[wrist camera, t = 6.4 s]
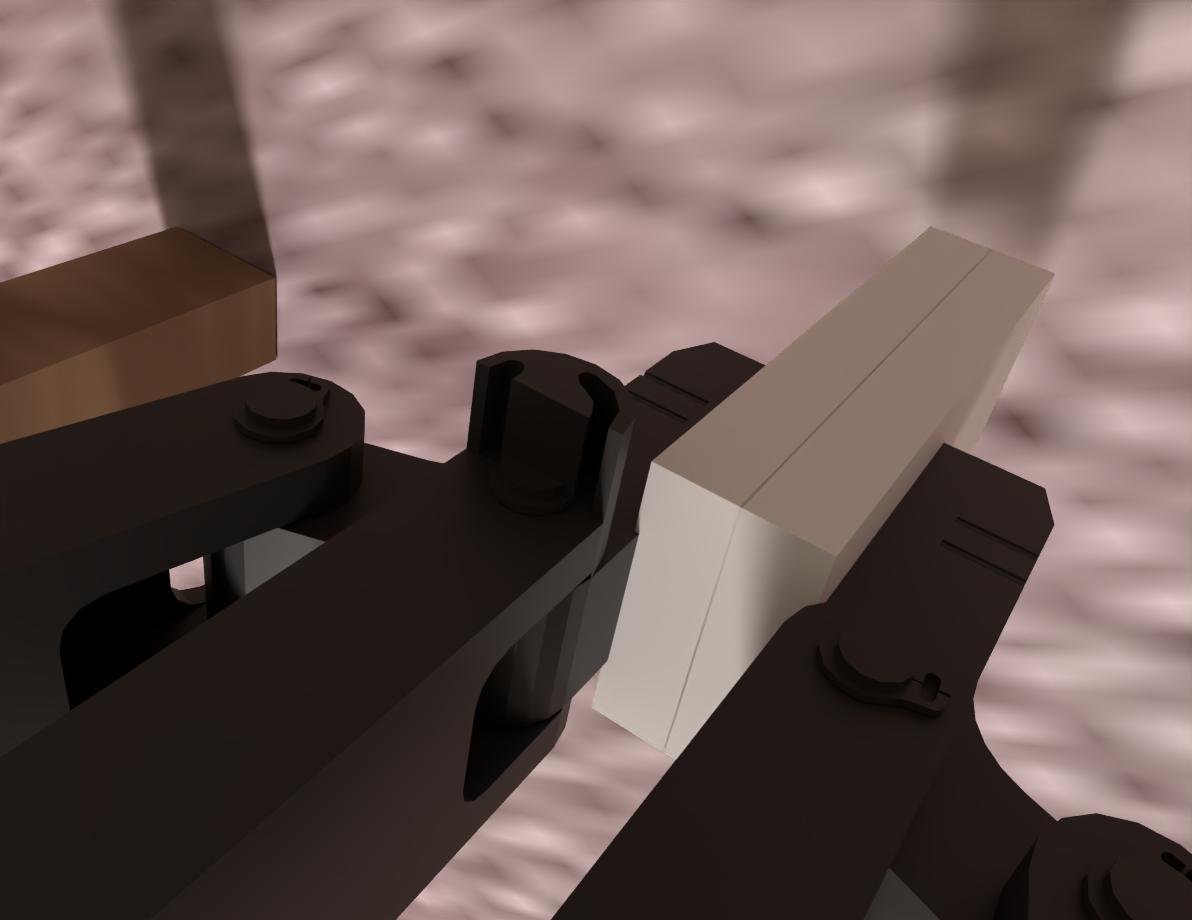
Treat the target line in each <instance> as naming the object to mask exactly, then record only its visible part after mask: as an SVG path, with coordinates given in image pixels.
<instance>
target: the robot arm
mask: <svg viewBox="0 0 1192 920" xmlns="http://www.w3.org/2000/svg"><path fill="white" fill-rule="evenodd" d="M1054 275H1055V273H1052V272H1049V271H1047V270H1044V269H1042V268H1039V267H1036V266H1034V265H1031V264H1028V263H1026V262H1023V261H1020V260H1018V259H1015V258H1012V257H1010V256H1007V255H1005V254H1002V253H999V252H997V251H994V250H991V249H989V248H986V247H983V246H981V245H978V244H975V243H973V242H970V241H968V240H965V239H962V238H960V237H957V236H954V235H952V234H949V233H946V232H944V231H941V230H939V229H936V228H933V227H930V228H929V229H927V230H926V231H925V232H924V233H923V234H922V235H920V236H919V237H918V238H917V239H916V240H914V241H913V242H912V243H911V244H910V245H908V246H907V247H906V248H905V249H904V250H902V251H901V252H900V253H899V254H898V255H897V256H895V257H894V258H893V259H892V260H891V261H889V262H888V263H887V264H886V265H885V266H883V267H882V268H881V269H880V270H879V271H877V272H876V273H875V274H874V275H873V276H872V277H870V278H869V279H868V280H867V281H866V282H864V283H863V284H862V285H861V286H860V287H858V288H857V289H856V290H855V291H854V292H853V293H851V294H850V295H849V296H848V297H847V298H845V299H844V300H843V301H842V302H841V303H839V304H838V305H837V306H836V307H835V308H833V309H832V310H831V311H830V312H829V313H828V314H826V315H825V316H824V317H823V318H822V319H820V320H819V321H818V322H817V323H816V324H814V325H813V326H812V327H811V328H810V329H808V330H807V331H806V332H805V333H804V334H803V335H801V336H800V337H799V338H798V339H797V340H795V341H794V342H793V343H792V344H791V345H789V346H788V347H787V348H786V349H785V350H784V351H782V352H781V353H780V354H779V355H778V356H776V357H775V358H774V359H773V360H772V361H770V362H769V363H768V364H767V365H763V364H761V363H759V362H757V361H755V360H752V359H750V358H748V357H746V356H744V355H741V354H739V353H737V352H735V351H733V350H730V349H728V348H726V347H724V346H722V345H719V344H717V343H715V342H713V343H708V344H704V345H699V346H695V347H691V348H686V349H682V350H677V351H673V352H672V353H670V354H669V355H667V356H666V357H665V358H663V359H662V360H660V361H659V362H658V363H656V364H655V365H653V366H652V367H651V368H649V369H648V370H646V372H645V374H644V376H642V375H639V376H638V377H637V378H635V379H634V380H632V381H631V382H630V383H628V384H627V385H625V386H624V385H623V384H622V382H621V381H620V380H619V379H617V378H616V377H614V376H613V375H611V374H610V373H608V372H607V371H605V370H604V369H602V368H600V367H599V366H597V365H596V364H593V363H590V362H587V361H584V360H582V359H579V358H576V357H573V356H570V355H567V354H562V353H555V352H548V351H541V350H520V351H506V352H500V353H497V354H495V355H492V356H489V357H486V358H483V359H481V360H478V361H477V364H476V373H475V381H474V390H473V398H472V407H471V415H470V424H469V432H468V441H467V449H465V450H464V451H462V452H461V453H459V454H457V455H456V456H454V457H453V458H451V459H450V460H448V461H447V462H445V463H439V462H434V461H429V460H424V459H421V458H417V457H414V456H410V455H407V454H403V453H399V452H396V451H392V450H389V449H385V448H381V447H378V446H374V445H371V444H367V443H364V431H365V411H364V409H363V408H362V406H361V405H360V404H359V402H358V401H357V399H356V398H355V397H354V395H353V394H352V393H350V392H348V391H347V390H345V389H343V388H342V387H340V386H338V385H337V384H335V383H333V382H332V381H328V380H325V379H321V378H317V377H314V376H310V375H306V374H303V373H283V372H267V373H261V374H254V375H248V376H242V377H238V378H234V379H230V380H227V381H223V382H220V383H216V384H213V385H209V386H205V387H202V388H198V389H195V390H191V391H187V392H184V393H180V394H177V395H173V396H170V397H166V398H162V399H159V400H155V401H152V402H148V403H145V404H141V405H137V406H134V407H130V408H127V409H123V410H120V411H116V412H112V413H109V414H105V415H102V416H98V417H95V418H91V419H87V420H84V421H80V422H77V423H73V424H69V425H66V426H62V427H59V428H55V429H52V430H48V431H44V432H41V433H37V434H34V435H30V436H27V437H23V438H19V439H16V440H12V441H9V442H5V443H2V444H0V920H396V919H397V918H398V917H399V916H400V914H401V913H402V912H403V911H404V910H405V909H406V908H407V907H408V906H409V905H410V904H411V902H412V901H413V900H414V899H415V898H416V897H417V896H418V895H419V894H420V893H421V892H422V890H423V889H424V888H425V887H426V886H427V885H428V884H429V883H430V882H431V881H432V880H433V878H434V877H435V876H436V875H437V874H438V873H439V872H440V871H441V870H442V869H443V868H444V866H445V865H446V864H447V863H448V862H449V861H450V860H451V859H452V858H453V857H454V856H455V854H456V853H457V852H458V851H459V850H460V849H461V848H462V847H463V846H464V845H465V844H466V842H467V841H468V840H469V839H470V838H471V837H472V836H473V835H474V834H475V833H476V832H477V830H478V829H479V828H480V827H481V826H482V825H483V824H484V823H485V822H486V821H487V820H488V818H489V817H490V816H491V815H492V814H493V813H494V812H495V811H496V810H497V809H498V808H499V806H500V805H501V804H502V803H503V802H504V801H505V800H506V799H507V798H508V797H509V796H510V794H511V793H512V792H513V791H514V790H515V789H516V788H517V787H518V786H519V785H520V784H521V782H522V781H523V780H524V779H525V778H526V777H527V776H528V775H529V774H530V773H531V772H532V770H533V769H534V768H535V767H536V766H537V765H538V764H539V763H540V762H541V761H542V760H543V758H544V757H545V756H546V755H547V754H548V753H549V752H550V751H551V750H552V749H553V748H554V746H555V744H556V743H557V741H558V739H559V737H560V735H561V734H562V732H563V730H564V728H565V726H566V721H567V717H568V712H569V708H570V703H571V699H572V697H573V696H574V695H575V694H576V693H577V692H578V691H579V690H580V689H581V688H582V687H583V686H584V685H585V684H586V683H587V682H588V681H589V680H590V679H591V677H592V676H593V675H594V674H595V673H596V672H597V671H598V670H599V669H600V668H601V670H600V675H599V679H598V683H597V687H596V691H595V695H594V699H593V703H592V707H591V708H593V709H595V710H596V711H598V712H599V713H601V714H603V715H604V716H606V717H607V718H609V719H611V720H612V721H614V722H615V723H617V724H619V725H620V726H622V727H623V728H625V729H627V730H628V731H630V732H631V733H633V734H634V735H636V736H638V737H639V738H641V739H642V740H644V741H646V742H647V743H649V744H650V745H652V746H654V747H655V748H657V749H658V750H660V751H662V752H663V753H665V754H666V755H668V756H670V757H671V758H673V759H674V760H675V762H674V763H673V764H672V766H671V767H670V768H669V769H668V771H667V772H666V773H665V775H664V776H663V777H662V778H661V780H660V781H659V782H658V783H657V785H656V786H655V787H654V789H653V790H652V791H651V792H650V794H649V795H648V796H647V798H646V799H645V800H644V801H643V803H642V804H641V805H640V806H639V808H638V809H637V810H636V812H635V813H634V814H633V815H632V817H631V818H630V819H629V821H628V822H627V823H626V824H625V826H624V827H623V828H622V829H621V831H620V832H619V833H618V835H617V836H616V837H615V838H614V840H613V841H612V842H611V844H610V845H609V846H608V847H607V849H606V850H605V851H604V852H603V854H602V855H601V856H600V858H599V859H598V860H597V861H596V863H595V864H594V865H593V867H592V868H591V869H590V870H589V872H588V873H587V874H586V875H585V877H584V878H583V879H582V881H581V882H580V883H579V884H578V886H577V887H576V888H575V890H574V891H573V892H572V893H571V895H570V896H569V897H568V898H567V900H566V901H565V902H564V904H563V905H562V906H561V907H560V909H559V910H558V911H557V913H556V914H555V915H554V916H553V918H552V919H551V920H1192V854H1191V853H1190V852H1188V851H1187V850H1186V849H1185V848H1184V847H1182V846H1181V845H1180V844H1178V843H1176V842H1174V841H1172V840H1170V839H1168V838H1166V837H1164V836H1162V835H1160V834H1158V833H1157V832H1155V831H1153V830H1151V829H1149V828H1147V827H1145V826H1143V825H1141V824H1139V823H1137V822H1132V821H1128V820H1124V819H1119V818H1115V817H1110V816H1106V815H1102V814H1097V813H1095V814H1088V815H1080V816H1073V817H1066V818H1061V819H1060V820H1059V821H1056V820H1055V819H1054V818H1053V817H1052V816H1051V815H1050V814H1048V813H1047V812H1046V811H1045V810H1044V809H1043V808H1042V807H1041V806H1039V805H1038V804H1037V803H1036V802H1035V801H1034V800H1033V799H1032V798H1030V797H1029V796H1028V795H1027V794H1026V793H1025V792H1024V791H1023V790H1022V789H1021V788H1020V787H1019V786H1018V785H1017V784H1016V783H1015V782H1014V781H1013V780H1012V779H1011V778H1010V777H1009V776H1008V775H1007V774H1006V772H1005V771H1004V770H1003V769H1002V768H1001V767H1000V765H999V764H998V762H997V761H996V759H995V758H994V756H993V755H992V753H991V752H990V751H989V749H988V748H987V746H986V745H985V743H984V740H983V738H982V735H981V733H980V730H979V728H978V725H977V723H976V720H975V711H974V701H973V698H974V694H975V690H976V686H977V682H978V679H979V677H980V675H981V673H982V671H983V669H984V667H985V665H986V663H987V661H988V659H989V657H990V655H991V653H992V651H993V649H994V647H995V645H996V643H997V641H998V639H999V637H1000V635H1001V632H1002V630H1003V628H1004V626H1005V624H1006V622H1007V620H1008V618H1009V616H1010V614H1011V612H1012V610H1013V608H1014V606H1015V604H1016V602H1017V600H1018V598H1019V596H1020V594H1021V592H1022V590H1023V588H1024V585H1025V583H1026V581H1027V579H1028V577H1029V575H1030V573H1031V571H1032V569H1033V567H1034V565H1035V563H1036V561H1037V559H1038V557H1039V555H1040V553H1041V551H1042V549H1043V547H1044V545H1045V543H1046V541H1047V539H1048V537H1049V535H1050V533H1051V531H1052V529H1053V526H1054V522H1053V518H1052V514H1051V510H1050V506H1049V502H1048V498H1047V494H1046V490H1045V488H1043V487H1041V486H1039V485H1036V484H1034V483H1032V482H1030V481H1028V480H1025V479H1023V478H1021V477H1019V476H1017V475H1014V474H1012V473H1010V472H1008V471H1006V470H1003V469H1001V468H999V467H997V466H995V465H992V464H990V463H988V462H986V461H983V460H981V459H979V458H977V457H975V456H972V453H973V451H974V449H975V447H976V445H977V442H978V440H979V438H980V436H981V434H982V432H983V429H984V427H985V425H986V423H987V421H988V419H989V416H990V414H991V412H992V410H993V408H994V406H995V403H996V401H997V399H998V397H999V395H1000V393H1001V390H1002V388H1003V386H1004V384H1005V382H1006V380H1007V377H1008V375H1009V373H1010V371H1011V369H1012V366H1013V364H1014V362H1015V360H1016V358H1017V356H1018V353H1019V351H1020V349H1021V347H1022V345H1023V343H1024V340H1025V338H1026V336H1027V334H1028V332H1029V330H1030V327H1031V325H1032V323H1033V321H1034V319H1035V317H1036V314H1037V312H1038V310H1039V308H1040V306H1041V304H1042V301H1043V299H1044V297H1045V295H1046V293H1047V291H1048V288H1049V286H1050V284H1051V282H1052V280H1053V278H1054ZM200 557H203V563H204V579H205V585H202V586H200V587H196V588H190V589H185V590H178V589H175V588H172V587H171V585H170V574H169V569H172V568H174V567H177V566H180V565H182V564H185V563H187V562H190V561H193V560H195V559H198V558H200Z"/></svg>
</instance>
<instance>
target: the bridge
mask: <svg viewBox="0 0 1192 920" xmlns="http://www.w3.org/2000/svg"><path fill="white" fill-rule="evenodd" d="M274 360H276V299H275V277H273V276H271V275H269V274H267V273H265V272H263V271H261V270H259V269H257V268H255V267H254V266H252V265H250V264H248V263H246V262H244V261H242V260H240V259H238V258H236V257H234V256H232V255H230V254H228V253H227V252H225V251H223V250H221V249H219V248H217V247H215V246H213V245H211V244H209V243H207V242H205V241H203V240H202V239H200V238H198V237H196V236H194V235H192V234H190V233H188V232H186V231H184V230H182V229H180V228H178V227H174V228H171V229H168V230H165V231H162V232H158V233H155V234H152V235H149V236H146V237H143V238H140V239H136V240H133V241H130V242H127V243H124V244H121V245H118V246H114V247H111V248H108V249H105V250H102V251H99V252H96V253H92V254H89V255H86V256H83V257H80V258H77V259H74V260H70V261H67V262H64V263H61V264H58V265H55V266H51V267H48V268H45V269H42V270H39V271H36V272H33V273H29V274H26V275H23V276H20V277H17V278H14V279H11V280H7V281H4V282H1V283H0V444H2V443H5V442H9V441H12V440H16V439H19V438H23V437H27V436H30V435H34V434H37V433H41V432H44V431H48V430H52V429H55V428H59V427H62V426H66V425H69V424H73V423H77V422H80V421H84V420H87V419H91V418H95V417H98V416H102V415H105V414H109V413H112V412H116V411H120V410H123V409H127V408H130V407H134V406H137V405H141V404H145V403H148V402H152V401H155V400H159V399H162V398H166V397H170V396H173V395H177V394H180V393H184V392H187V391H191V390H195V389H198V388H202V387H205V386H209V385H213V384H216V383H220V382H223V381H227V380H230V379H234V378H237V377H239V376H242V375H244V374H246V373H248V372H250V371H252V370H255V369H257V368H259V367H261V366H263V365H265V364H267V363H270V362H272V361H274Z"/></svg>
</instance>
